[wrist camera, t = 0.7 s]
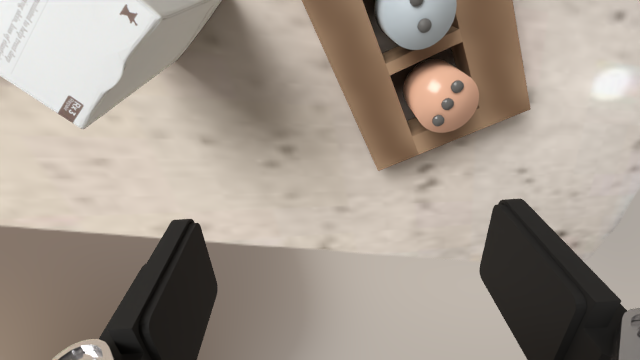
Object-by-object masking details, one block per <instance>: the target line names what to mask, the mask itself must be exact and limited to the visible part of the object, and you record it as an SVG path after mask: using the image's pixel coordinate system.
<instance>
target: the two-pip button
mask: <svg viewBox="0 0 640 360" xmlns="http://www.w3.org/2000/svg"><path fill="white" fill-rule="evenodd" d="M456 6H457V3H456V0H376V2H375V18H376V21H377V23H378V26H379V27H380V29H381V30H382V31H383V32H384V33H385V34H386V35H387V36H388V37H389V38H391V39H392V40H393V41H394V42H395V43H396V44H398V45H399V46H401V47H403V48H406V49H410V50H420V49H424V48H427V47H430V46H432V45H434V44H435V43H437V42H438V41H439V40H440V39H442V38H443V37H444V35H445V34H446V33H447V32H448V30H449V29H450V27H451V25H452V23H453V21H454V17H455V14H456Z"/></svg>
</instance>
